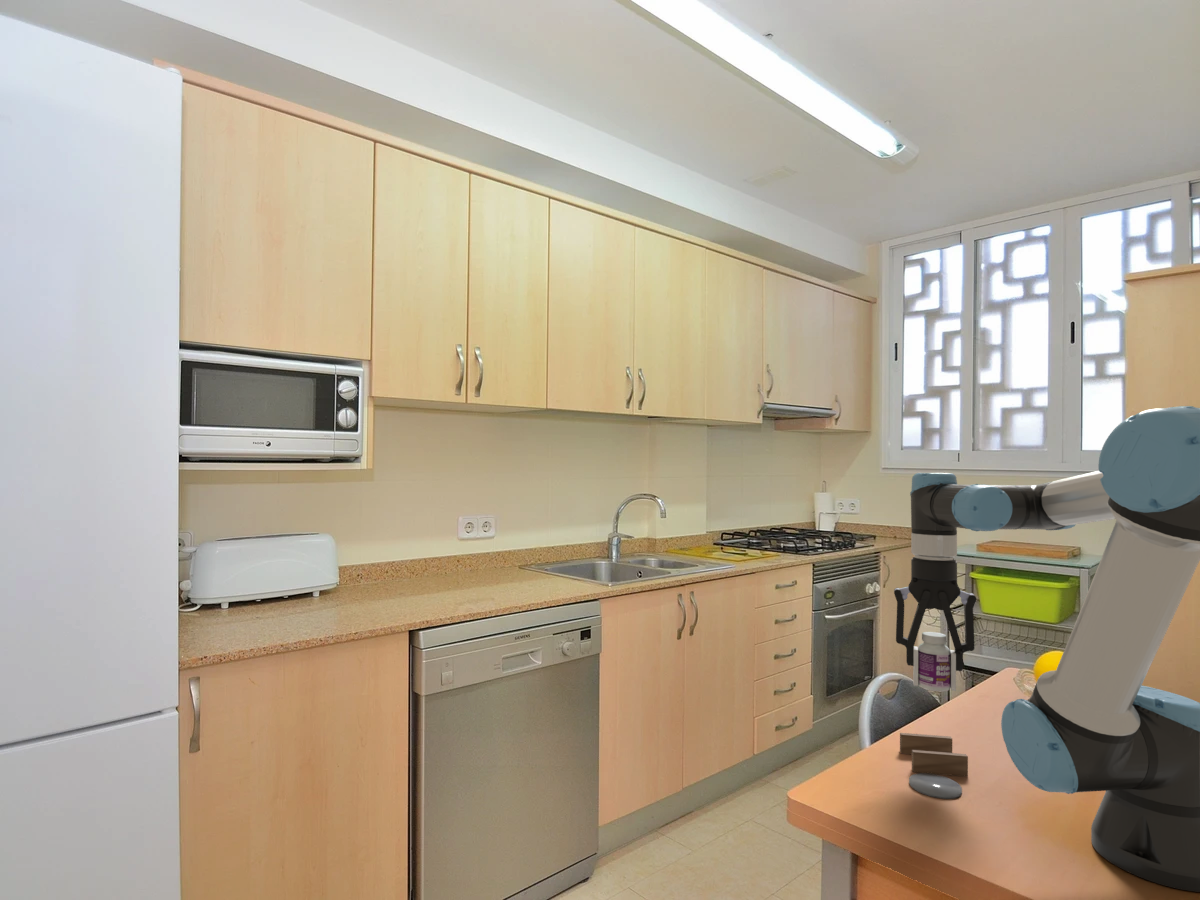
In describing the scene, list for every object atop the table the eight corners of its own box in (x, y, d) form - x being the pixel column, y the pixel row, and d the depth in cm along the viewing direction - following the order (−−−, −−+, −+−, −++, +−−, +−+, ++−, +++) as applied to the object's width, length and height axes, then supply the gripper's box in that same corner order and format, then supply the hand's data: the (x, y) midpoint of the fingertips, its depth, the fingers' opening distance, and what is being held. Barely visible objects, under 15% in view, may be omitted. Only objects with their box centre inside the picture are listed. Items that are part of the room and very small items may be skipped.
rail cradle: (967, 776, 120) (967, 756, 120) (913, 771, 122) (913, 752, 122) (950, 755, 129) (950, 736, 129) (899, 751, 130) (899, 732, 131)
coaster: (969, 800, 111) (969, 797, 111) (916, 796, 113) (916, 792, 113) (952, 778, 119) (952, 775, 119) (903, 774, 120) (903, 771, 120)
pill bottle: (942, 694, 120) (942, 638, 121) (912, 686, 125) (912, 633, 125) (956, 688, 124) (955, 634, 124) (926, 681, 128) (926, 629, 128)
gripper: (988, 558, 125) (989, 687, 124) (879, 552, 132) (879, 674, 131) (994, 562, 118) (995, 699, 117) (879, 556, 125) (879, 685, 124)
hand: (934, 685), depth 124 cm, fingers closed on pill bottle, 5 cm apart
